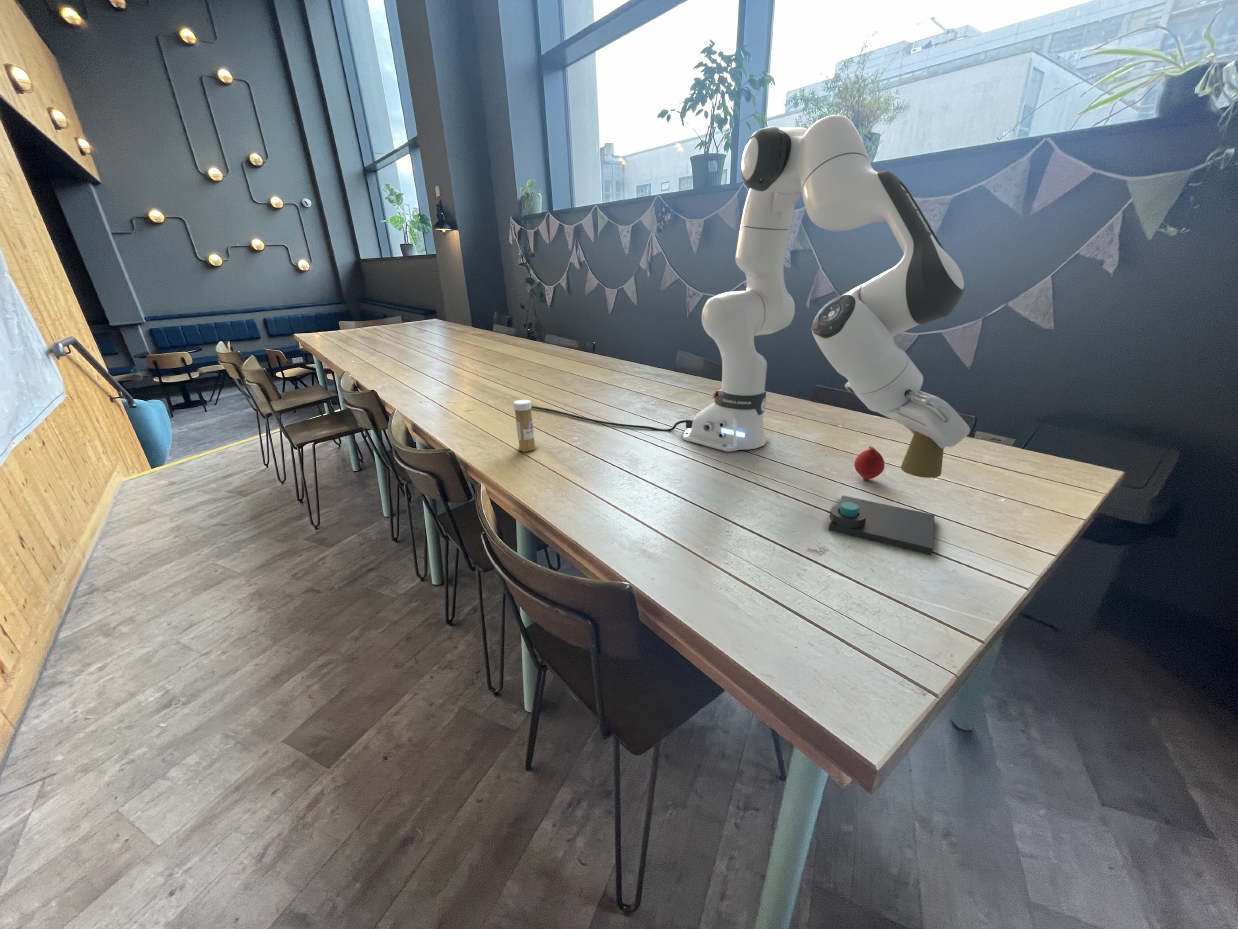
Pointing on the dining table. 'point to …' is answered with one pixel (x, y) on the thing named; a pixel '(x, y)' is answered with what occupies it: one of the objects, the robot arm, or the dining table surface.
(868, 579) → the dining table surface
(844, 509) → the button
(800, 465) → the dining table surface
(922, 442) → the cork
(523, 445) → the sprinkles bottle
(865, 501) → the scale
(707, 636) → the dining table surface
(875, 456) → the onion
